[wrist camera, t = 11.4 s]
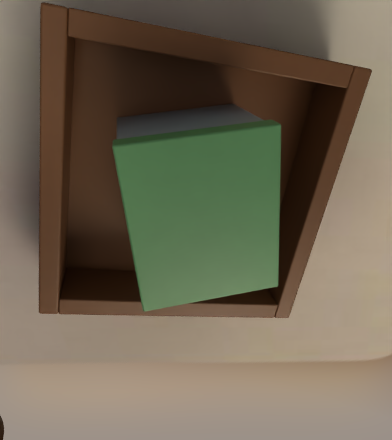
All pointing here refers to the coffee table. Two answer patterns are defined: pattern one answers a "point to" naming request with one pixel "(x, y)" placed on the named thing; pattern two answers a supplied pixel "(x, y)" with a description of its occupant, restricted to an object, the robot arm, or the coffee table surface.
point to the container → (200, 202)
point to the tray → (163, 102)
